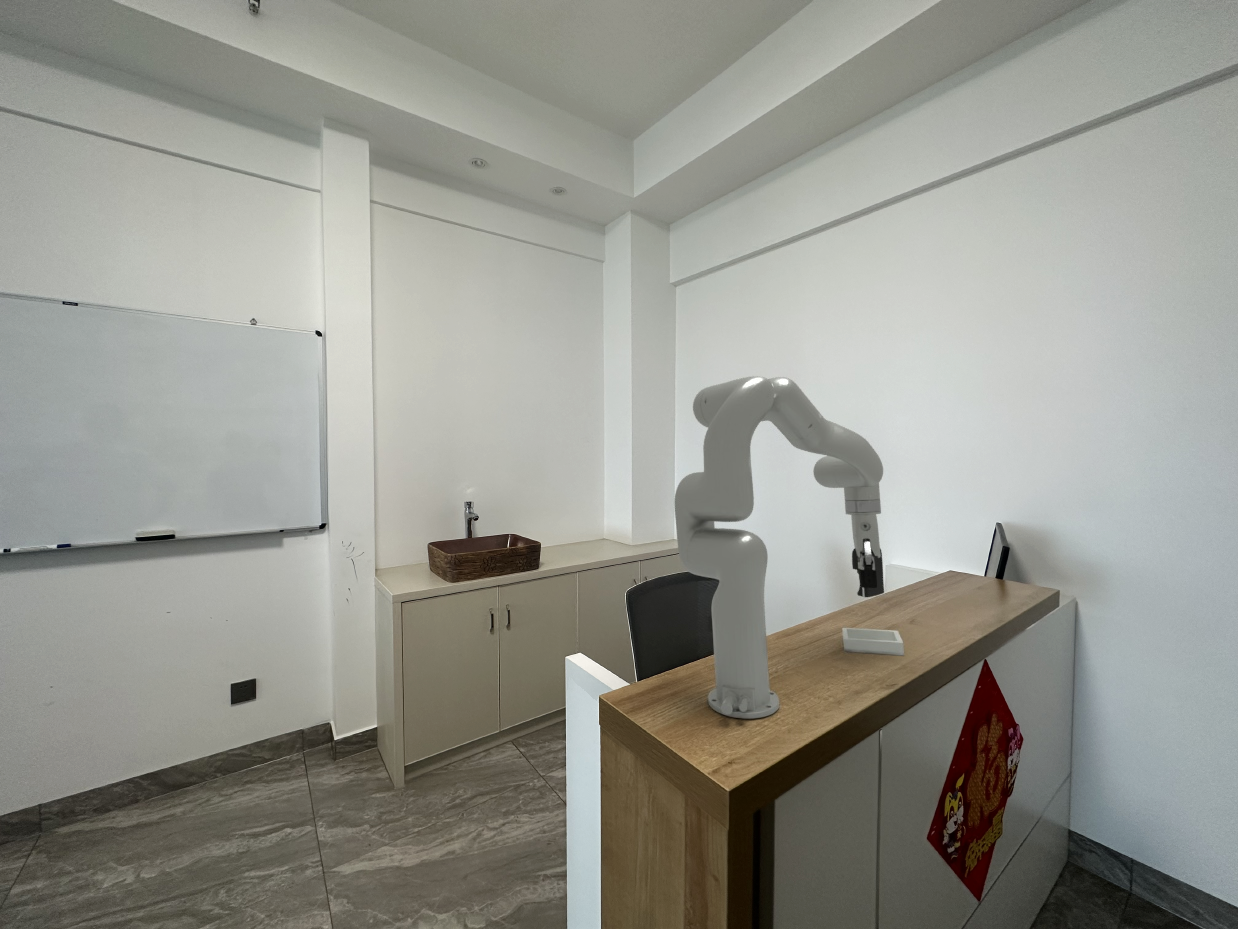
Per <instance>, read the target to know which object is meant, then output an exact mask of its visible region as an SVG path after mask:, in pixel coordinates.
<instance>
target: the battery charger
mask: <svg viewBox="0 0 1238 929" xmlns="http://www.w3.org/2000/svg"><path fill="white" fill-rule="evenodd" d="M863 547H864V546H863ZM880 553H881V557H880V558H877V556H875V555H874V563H875V570H876V576H877V588H863V587H862V586H861V574H860V569H861V559H860V558H859V557H858V556H857V553H856V549H855V547H854V548H853V550H852V552H851V564H852V570H855V571H856V573H857V574H858V580H859V588H858V590H857V592H856V594H857V596H859V597H862V598H872V597H876V596H879V595H882V594H885V586H884V569H883V568H884V566H883V564H884V563H883V552H882V549H881V548H880ZM862 556H865V552H864V553H862ZM871 556H872V555H871ZM863 561H864V559H863Z"/></svg>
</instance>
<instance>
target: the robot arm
mask: <svg viewBox="0 0 1238 929" xmlns="http://www.w3.org/2000/svg"><path fill="white" fill-rule="evenodd" d="M692 411H693V415H694V417H695V419H696V420H697V422H698V423H699V424H701V426H703V427H705V428H707V430H706V432H705V435H704V440H703V445H702V446H703V449H702V450H703V451H702V452H703V471H699V472H692V473H689V474H687V475H686V476H684V477H683V478H682V479H681V480H680V482H679V483H678V485H677V487H676V490H675V494H674V515H675V516H674V517H675V529H676V539H677V541H676V542H677V548H678V551H677V552H678V555H679V559H680V562H681V564H682V566H683V567H684V569H685V570H686V571H687V572H688V573H690V574H693V575H695V576H700V577H704V578H711V579H714V580H718V582H719V583H718V586H717V588H716V590H715V592H714V593H713V597H712V600H711V622H712V623H711V624H712V638H713V639H712V640H713V657H714V659H713V661H714V676H715V688H712V689H711V691H709V693H708V695H707V702H708V705H709V707H710V708H711V709H713V710H714V711H716V712H717V713H719V714H721V715H724V716H726V717H731V718H736V719H744V720H746V719H749V720H751V719H760V718H766V717H768V716H771V715H773V714H774V713H775V712H777V711H778V709H779V708H780V698H779V696H778V695H777V693H776V692H774V691H773V690H772V689H770V680H769V679H770V678H769V677H770V676H769V658H768V644H767V642H768V641H767V628H766V627H767V626H766V625H767V624H766V610H765V607H766V606H765V583H766V574H767V567H768V550H767V546H766V544H765V542H764V541H763V539H762V538H761V537H760V536H758V535H757V534H756V533H753V532H751V531H749V530H743V529H738V528H719V527H718V528H717V527H715V522H716V523H717V522H719V523H736V522H741V521H745V520H747V519H748V518H749V517H750V516H751V515H752V513H753V511H754V504H755V502H754V499H755V497H754V495H755V494H754V486H753V484H754V483H753V474H752V473H753V472H752V460H751V457H752V456H751V444H752V439H753V436H754V433H755V431H756V429H757V428H758V426H759V425H760V423H761V422H767V421H768V422H771V424H773V425H774V426H775V428H777V430H778V431H779V432H780V433H781V434H782V435H783V436H784V437H785V439H786V440H787V441H788V442H789V443H790V444H791V445H792V446H793V447H794V448H796V449H797V450H801V451H804V452H808V453H811V454H817V455H823V457H821V458H819V459H818V460H817V461H816V462H815V464H814V467H813V477H814V479H815V482H817V483H818V484H819V485H820V486H822V487H825V488H831V489H837V488H838V489H840V488H841V489H843V493H844V495H843V496H844V509H845V515H849V516H851V517H850V518H851V527H852V528H851V530H852V539H853V540H852V541H853V546H854V548H855V549H856V553H857V556H858V557H859V558H860V559H861V569H860V574H861V586H862V587H863V588H877V576H876V570H875V563H874V555H875V556H877V558H880V557H881V553H880V549H881V545H880V534H879V524H878V523H879V522H878V516H877V515H880V514H882V506H881V505H882V504H881V493H880V482H881V480H882V478H883V475H884V467H883V462H882V460H881V458H880V456H879V454H878V453H877V451H876V450H875V449H874V448H873V446H872V444H870V442H869V441H868V440H867V439H866V438H864V437H863V436H862V435H860V434H859V433H857V432H855V431H853V430H851V429H849V428H846V427H845V426H843V425H840V424H838V423H835V422H834V421H830V420H828V419H827V418H824V416H823V415H822V413H821V412H820V411H819V410H818V409H817V407H816V406H815V404H813V402H812V401H811V400H810V399H809V397H808V396H807V395H806V394H805V393H804V392H803V390H802V389H801V388H800V387H799V385H798V384H797V383H796V382H795V381H794V380H792V379H790V378H788V377H784V376H778V377H772V378H766V377H765V376H761V375H760V376H759V375H755V376H753V375H752V376H746V377H742V378H737V379H733V380H730V381H727V382H722V383H719V384H714V385H710V386H707V387H704V388H703V389H701V390H699V391H698V393H697V394H696V396H695V397H694V400H693V402H692ZM863 546H864V547H863ZM864 552H865V556H862V553H864ZM871 555H872V556H871ZM863 559H864V561H863Z"/></svg>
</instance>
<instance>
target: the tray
mask: <svg viewBox="0 0 1238 929" xmlns="http://www.w3.org/2000/svg"><path fill="white" fill-rule="evenodd" d="M841 629H842V642H843V651H844V653H845V652H848V653H861V654H862V653H863V654H873V655H875V654H876V655H889V656H890V655H891V656H902V657H904V656H905V650H904V647H905V646H904V641H903V639H902V637H901V635H900V632H899V630H894V629H893V630H890V629H889V630H888V629H877V628H876V629H875V628H874V629H873V628H872V629H871V628H854V627H842V628H841Z"/></svg>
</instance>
